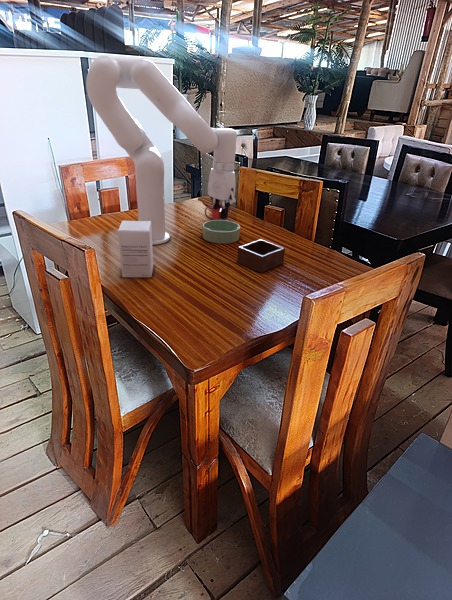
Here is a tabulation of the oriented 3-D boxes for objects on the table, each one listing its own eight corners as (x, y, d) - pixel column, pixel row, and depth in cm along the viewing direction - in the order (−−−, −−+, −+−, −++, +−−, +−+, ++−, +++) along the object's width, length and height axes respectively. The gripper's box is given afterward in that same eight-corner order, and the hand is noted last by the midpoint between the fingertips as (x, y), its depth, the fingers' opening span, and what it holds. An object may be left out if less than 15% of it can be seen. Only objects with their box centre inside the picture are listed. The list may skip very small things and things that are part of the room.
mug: (225, 225, 165) (226, 209, 162) (202, 222, 168) (202, 206, 164) (229, 221, 171) (230, 205, 168) (207, 218, 173) (207, 202, 170)
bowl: (220, 246, 145) (221, 234, 143) (194, 235, 154) (195, 224, 152) (246, 238, 154) (247, 226, 152) (221, 228, 163) (221, 217, 161)
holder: (260, 273, 127) (262, 256, 124) (236, 262, 133) (237, 246, 131) (283, 263, 134) (285, 248, 132) (259, 254, 141) (260, 239, 138)
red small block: (218, 220, 147) (218, 212, 146) (212, 217, 149) (212, 209, 148) (227, 217, 151) (228, 210, 149) (221, 215, 153) (222, 207, 151)
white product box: (125, 265, 127) (121, 219, 120) (153, 265, 128) (151, 220, 121) (121, 277, 119) (117, 230, 112) (151, 278, 120) (149, 230, 113)
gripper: (200, 162, 143) (198, 212, 152) (233, 171, 134) (228, 224, 143) (215, 161, 148) (212, 209, 157) (247, 169, 139) (242, 221, 147)
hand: (220, 216), depth 150 cm, fingers closed on red small block, 3 cm apart
